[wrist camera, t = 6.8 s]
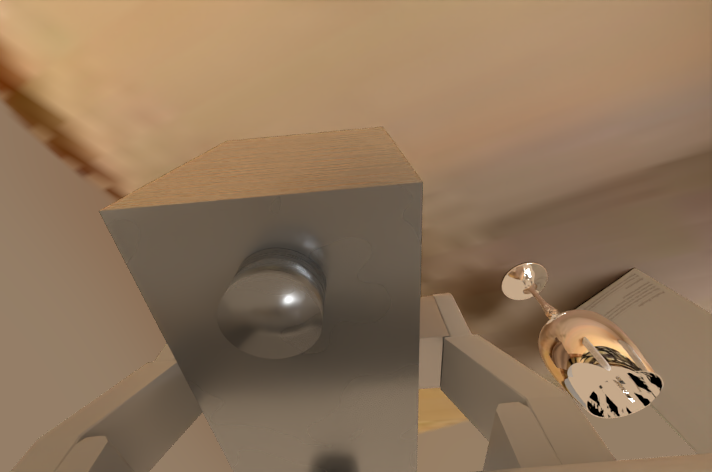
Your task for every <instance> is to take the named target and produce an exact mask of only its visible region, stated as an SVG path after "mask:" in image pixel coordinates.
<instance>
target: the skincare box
mask: <svg viewBox="0 0 712 472" xmlns="http://www.w3.org/2000/svg"><path fill="white" fill-rule="evenodd" d="M575 310H589V311H593V312H597V313H600V314H602V315H604V316H606V317H608V318H609V319H611V320H612V321H613V322H615V323H616V324H618V325H619V326H620V327H622V328H623V329H624V330H625V331H626V332H627V333H628V334H629V335H630V336H631V337H632V338H633V339H634V340H635V342H636V343H637V344H638V345H639V346H640V348H641V349H642V350H643V352H644V353H645V354H646V355H647V357H648V358H649V360H650V361H651V363H652V364H653V366H654V367H655V369H656V370H657V372H658V373H659V375H660V376H661V378H662V380H663V382H664V386H663V390H662V392H661V394H660V395H659V396H658V398H657V399H656V400H655V401H653V402H652V403H651V404H649V405H650V406H651V407H652V408H653V409H654V410H655V411H656V412H657V413H658V414H659V415H660V416H661V417H662V418H663V419H664V420H665V421H666V422H667V423H668V424H669V426H671V428H672V429H673V430H674V431H675V432H676V433H677V434H678V435H679V436H680V437H681V438H682V439H683V440H684V441H685V442H686V443H687V444H688V445H689V446H690V447H691V448H692V449H693V450H694V451H695V453H696V454H705V453H712V314H711V313H709V312H708V311H706V310H704V309H703V308H701V307H699V306H698V305H696V304H695V303H693V302H691V301H690V300H688V299H686V298H685V297H683V296H681V295H680V294H678V293H676V292H675V291H673V290H671V289H670V288H668V287H666V286H665V285H663V284H661V283H660V282H658V281H656V280H655V279H653V278H651V277H650V276H648V275H646V274H645V273H643V272H641V271H640V270H638V269H636V268H634V269H632V270H631V271H630V272H628V273H627V274H625V275H624V276H623V277H621V278H620V279H618V280H617V281H615V282H614V283H612V284H611V285H610V286H608V287H607V288H605V289H604V290H603V291H601V292H600V293H598V294H597V295H595V296H594V297H592V298H591V299H590V300H588V301H587V302H585V303H584V304H582V305H581V306H579V307H578V308H577V309H575Z"/></svg>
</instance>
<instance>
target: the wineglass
mask: <svg viewBox="0 0 712 472" xmlns="http://www.w3.org/2000/svg"><path fill="white" fill-rule="evenodd" d="M547 281H548V273H547V270H546V269H545V267H543V266H542V265H540V264H538V263H533V262H529V263H523V264H520V265H518V266H516V267H514V268H512V269H511V270H510V271H509V272H508V273H507V274H506V275H505V276H504V278H503V280H502V284H501V288H502V291H503V293H504V294H505V296H507V297H508V298H510V299H513V300H525V299H528V298H531V297H533V296H534V297H535V298H536V300H537V301H538V302H539V303H540V304H541V306H542V308H543V310H544V313H545V315H546V316H547V317H548V318H549V319H550V320H549V321H548V322H547V323H546V324H545V325H544V326H543V328H542V329H541V331H540V334H539V337H538V349H539V353H540V355H541V358H542V360H543V362H544V364H545V366H546V367H547V369H548V370H549V372H550V373H551V374H552V376H553V377H554V378H555V379H556V380H557V382H558V383H559V384H560V385H561V386H562V387H563V388H564V389H565V390H566V391H567V393H569V394H570V395H571V396H572V397H573V398H574V399H575V400H576V401H577V402H578V403H579V404H580V405H581V406H582V407H583V408H585V409H586V410H587V411H588V412H589V413H590V414H592V415H594V416H596V417H601V418H616V417H622V416H626V415H629V414H632V413H635V412H637V411H639V410H641V409H643V408H645V407H646V406H648V405H649V404H651V403H652V402H653V401H655V400H656V399H657V398H658V396H659V395H660V394H661V392H662V390H663V386H664V382H663V380H662V378H661V376H660V375H659V373H658V372H657V370H656V369H655V367H654V366H653V364H652V363H651V361H650V360H649V358H648V357H647V355H646V354H645V353H644V352H643V350H642V349H641V348H640V346H639V345H638V344H637V343H636V342H635V340H634V339H633V338H632V337H631V336H630V335H629V334H628V333H627V332H626V331H625V330H624V329H623V328H622V327H620V326H619V325H618V324H616V323H615V322H613V321H612V320H611V319H609V318H608V317H606V316H604V315H602V314H600V313H597V312H593V311H589V310H569V311H565V312H562V313H559V311H558V310H557V309H555V308H554V307H553V306H551V305H549V304H548V303H547V302H546V301H544V300H543V299H542V297H541V296H540V295H539V294H538V293H539V292H540V291H541V290H542V289H543V288H544V287H545V285H546V283H547Z"/></svg>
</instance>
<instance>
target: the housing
mask: <svg viewBox="0 0 712 472" xmlns="http://www.w3.org/2000/svg"><path fill="white" fill-rule="evenodd" d="M422 195H423V182H422V180H421V179H420V178H419V176H418V175H417V173H416V172H415V171H414V169H413V168H412V167H411V165H410V164H409V162H408V161H407V160H406V158H405V157H404V155H403V154H402V153H401V151H400V150H399V149H398V147H397V146H396V144H395V143H394V142H393V140H392V139H391V137H390V136H389V135H388V133H387V132H386V131H385V129H384V128H383V127H375V128H364V129H353V130H342V131H331V132H320V133H309V134H298V135H287V136H276V137H265V138H254V139H243V140H232V141H225V142H224V143H222V144H220V145H218V146H216V147H215V148H213V149H211V150H209V151H207V152H205V153H204V154H202V155H200V156H198V157H196V158H194V159H193V160H191V161H189V162H187V163H185V164H183V165H182V166H180V167H178V168H176V169H174V170H172V171H171V172H169V173H167V174H165V175H163V176H162V177H160V178H158V179H156V180H154V181H152V182H151V183H149V184H147V185H145V186H143V187H141V188H140V189H138V190H136V191H134V192H132V193H130V194H129V195H127V196H125V197H123V198H121V199H120V200H118V201H116V202H114V203H112V204H110V205H109V206H107V207H105V208H103V209H101V210H99V213H100V215H101V216H102V218H103V220H104V222H105V224H106V226H107V228H108V230H109V232H110V234H111V236H112V238H113V239H114V242H115V244H116V245H117V247H118V249H119V251H120V253H121V255H122V257H123V259H124V261H125V263H126V265H127V267H128V269H129V270H130V273H131V274H132V276H133V278H134V280H135V282H136V284H137V286H138V288H139V290H140V292H141V294H142V296H143V298H144V300H145V302H146V303H147V305H148V307H149V309H150V311H151V313H152V315H153V317H154V319H155V321H156V323H157V325H158V327H159V329H160V330H161V333H162V334H163V336H164V338H165V340H166V342H167V344H168V346H169V348H170V350H171V352H172V354H173V356H174V358H175V360H176V362H177V363H178V365H179V367H180V369H181V371H182V373H183V375H184V377H185V379H186V381H187V383H188V385H189V387H190V389H191V391H192V392H193V394H194V396H195V398H196V400H197V402H198V404H199V406H200V408H201V410H202V412H203V414H204V416H205V418H206V419H207V421H208V423H209V425H210V427H211V429H212V431H213V433H214V435H215V437H216V439H217V441H218V443H219V445H220V447H221V449H222V450H223V452H224V454H225V456H226V458H227V460H228V462H229V464H230V466H231V468H232V470H233V472H417V439H418V390H419V342H420V293H421V244H422Z"/></svg>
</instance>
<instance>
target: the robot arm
mask: <svg viewBox="0 0 712 472" xmlns="http://www.w3.org/2000/svg"><path fill="white" fill-rule="evenodd" d="M425 388H441V390H442V391H443V392H444V393H445V394H446V396H447V397H448V398H449V399H450V400H451V401H452V402H453V403H454V404H455V405H456V406H457V407H458V409H459V410H460V411H461V412H462V413H463V414H464V415H465V416H466V417H467V418H468V419H469V420H470V422H471V423H472V424H473V425H474V426H475V427H476V428H477V429H478V430H479V431H480V432H481V433H482V435H483V436H484V437H485V438H486V439H487V440H488V441H489V445H488V450H487V454H486V459H485V463H484V468H483V471H479V472H712V453H705V454H693V455H681V456H667V457H655V458H643V459H630V460H618V461H617V460H616V459H615V457H614V456H613V455H612V453H611V452H610V450H609V449H608V448H607V446H606V445H605V443H604V442H603V441H602V439H601V438H600V436H599V435H598V433H597V432H596V430H595V429H594V428H593V426H592V425H591V423H590V422H589V421H588V419H587V418H586V416H585V415H584V413H583V412H582V411H581V409H580V408H579V406H578V405H577V403H576V402H575V401H574V399H573V398H572V396H570V395H569V394H567V393H566V392H564V391H563V390H561V389H560V388H558V387H557V386H555V385H554V384H552V383H550V382H549V381H547V380H546V379H544V378H543V377H541V376H540V375H538V374H537V373H535V372H534V371H532V370H531V369H529V368H528V367H526V366H525V365H523V364H522V363H520V362H519V361H517V360H516V359H514V358H513V357H511V356H510V355H508V354H506V353H505V352H503V351H502V350H500V349H499V348H497V347H496V346H494V345H493V344H491V343H490V342H488V341H487V340H485V339H484V338H482V337H481V336H479V335H472V334H471V332H470V330H469V328H468V326H467V324H466V322H465V320H464V318H463V316H462V314H461V312H460V310H459V308H458V306H457V303H456V301H455V299H454V297H453V295H452V294H450V293H443V294H434V295H428V296H420V342H419V389H425ZM201 413H202V410H201V408H200V406H199V404H198V402H197V400H196V398H195V396H194V394H193V392H192V391H191V389H190V387H189V385H188V383H187V381H186V379H185V377H184V375H183V373H182V371H181V369H180V367H179V365H178V363H177V362H176V360H175V358H174V356H173V354H172V352H171V350H170V348H169V346H168V344H167V343H166V345H165V346H164V348H163V349H162V351H161V352H160V354H159V355H158V356H157V358H156V359H155V361H154V362H148V363H146V364H145V365H144V366H142V367H141V368H139V369H138V370H136V371H135V372H134V373H132V374H131V375H129V376H128V377H126V378H125V379H123V380H122V381H121V382H119V383H118V384H116V385H115V386H113V387H112V388H110V389H109V390H108V391H106V392H105V393H103V394H102V395H100V396H99V397H98V398H96V399H95V400H93V401H92V402H91V403H89V404H87V405H86V406H85V407H83V408H82V409H80V410H79V411H77V412H76V413H75V414H73V415H72V416H70V417H69V418H67V419H66V420H64V421H63V422H62V423H60V424H59V425H57V426H56V427H55V428H53V429H51V430H50V431H49V432H47V433H46V434H44V435H43V436H42V437H40V438H38V439H37V440H36V442H35V443H34V444H33V445H32V446H31V447H30V449H29V450H28V451H27V452H26V453H25V454H24V456H23V457H22V458H21V459H20V460H19V462H18V463H17V464H16V465H15V466H14V467H13V469H12V470H11V471H10V472H149V471H150V470H151V469H152V468H153V467H154V466H155V464H156V463H157V462H158V461H159V460H160V459H161V458H162V457H163V456H164V454H165V453H166V452H167V451H168V450H169V449H170V448H171V447H172V445H173V444H174V443H175V442H176V441H177V440H178V439H179V438H180V437H181V435H182V434H183V433H184V432H185V431H186V430H187V429H188V427H190V425H191V424H192V423H193V422H194V421H195V420H196V419H197V417H198V416H199V415H200V414H201Z"/></svg>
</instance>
